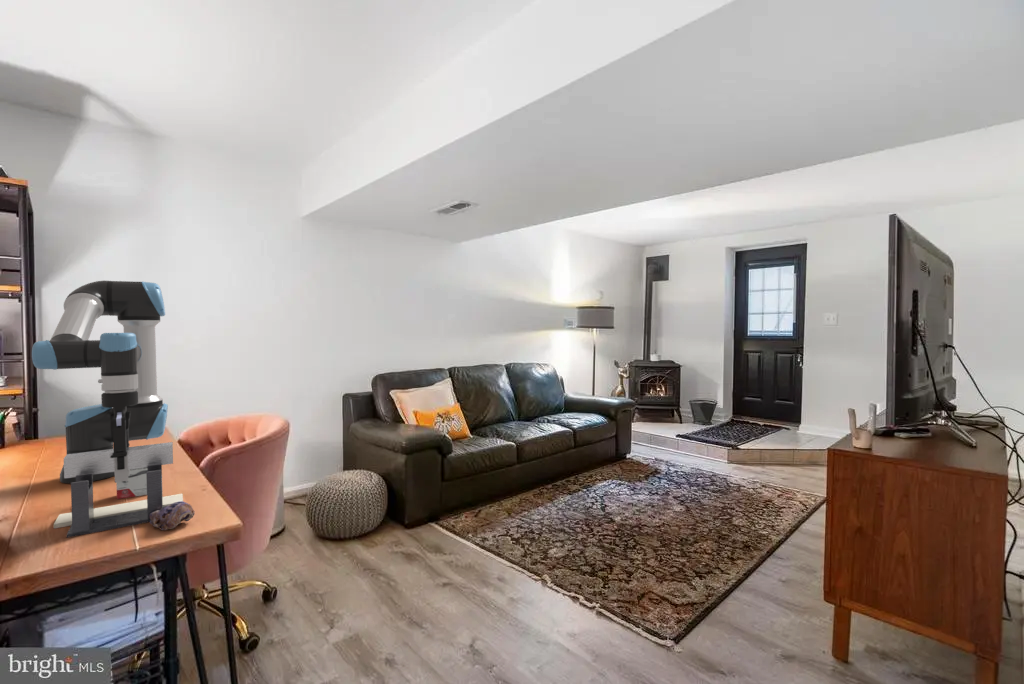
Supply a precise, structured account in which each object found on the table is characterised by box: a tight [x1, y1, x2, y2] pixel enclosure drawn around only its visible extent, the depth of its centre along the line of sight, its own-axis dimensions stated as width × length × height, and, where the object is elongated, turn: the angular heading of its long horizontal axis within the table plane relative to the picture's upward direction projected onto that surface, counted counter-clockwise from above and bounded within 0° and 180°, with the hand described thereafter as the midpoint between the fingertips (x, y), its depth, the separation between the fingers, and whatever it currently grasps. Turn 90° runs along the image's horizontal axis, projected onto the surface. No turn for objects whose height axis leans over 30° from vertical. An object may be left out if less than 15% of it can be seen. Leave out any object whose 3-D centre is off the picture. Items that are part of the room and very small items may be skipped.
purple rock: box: [149, 500, 196, 531], centre depth 119 cm, size 12×8×6 cm, turn 62°
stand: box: [66, 463, 166, 538], centre depth 120 cm, size 8×19×12 cm, turn 126°
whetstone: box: [63, 441, 174, 478], centre depth 127 cm, size 5×22×5 cm, turn 126°
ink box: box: [116, 467, 148, 500], centre depth 141 cm, size 8×5×12 cm, turn 123°
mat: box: [53, 493, 184, 529], centre depth 128 cm, size 8×26×1 cm, turn 126°
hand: (122, 478), depth 127 cm, fingers closed on whetstone, 5 cm apart
